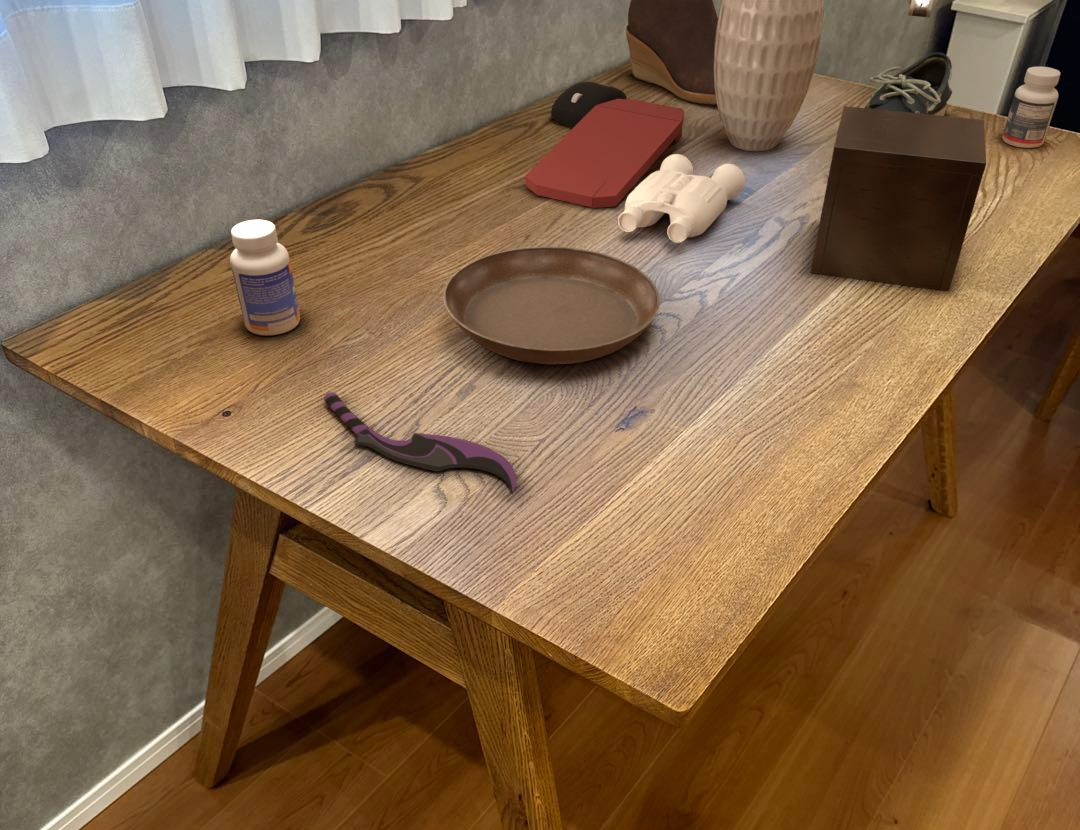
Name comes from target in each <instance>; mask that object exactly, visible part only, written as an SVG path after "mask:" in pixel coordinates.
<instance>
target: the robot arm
mask: <svg viewBox="0 0 1080 830" xmlns="http://www.w3.org/2000/svg"><path fill="white" fill-rule="evenodd" d="M906 1H907V3H908V5H909V9H908V13H907V16H909V17H919V18H930V16H931V14H932V10H933V7H934V6H935V4H937V3H938V1H939V0H906Z"/></svg>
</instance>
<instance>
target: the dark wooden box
mask: <svg viewBox="0 0 1080 830" xmlns="http://www.w3.org/2000/svg"><path fill="white" fill-rule="evenodd" d="M837 129H838V130H837V134H836V138H835V141H834V145H833V151H832V155H831V161H830V166H829V171H828V176H827V183H826V187H825V192H824V198H823V202H822V207H821V208H822V209H821V214H820V219H819V224H818V230H817V234H816V240H815V245H814V251H813V256H812V261H811V265H810V271H809V272H810V273H811V274H818V275H825V276H833V277H839V278H840V277H841V278H847V279H854V280H855V279H856V280H863V281H870V282H876V283H877V282H878V283H884V284H892V285H900V286H907V287H915V288H922V289H929V290H938V291H945V292H949V291H950V289H951V286H952V284H953V283H952V282H953V279H954V276H955V273H956V270H957V266H958V262H959V259H960V255H961V252H962V249H963V245H964V242H965V238H966V235H967V232H968V228H969V224H970V221H971V218H972V215H973V211H974V207H975V204H976V200H977V197H978V194H979V190H980V187H981V184H982V180H983V177H984V173H985V170H986V167H987V151H986V150H987V149H986V148H987V147H986V132H985V131H986V130H985V119H978V118H971V117H961V116H960V117H959V116H950V115H949V116H948V115H944V116H940V115H929V114H919V113H909V112H899V111H889V110H878V109H868V108H864V107H856V106H847V105H844V106H843V108H842V113H841V116H840V121H839V125H838V128H837Z"/></svg>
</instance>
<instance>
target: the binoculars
mask: <svg viewBox="0 0 1080 830" xmlns="http://www.w3.org/2000/svg"><path fill="white" fill-rule="evenodd" d="M745 184H746V179H745V175H744V172H743V171H742V170H741V168H740V167H738V165H736V164H733V163H724V164H721V165H719V166H718V167H716V169H715V170H714V171H713V173H712V176H710V177H709V176H705V175H696V174H694V168H693V164H692V162H691V160H689V158H688V157H686V156H685V155H683V154H679V153H673V154H670V155H668V156H667V157H666V158H664V159H663V161H662V162H661V164H660V168H659V170H656V171H654V172H652V173H650V174H649V175H648V176H647V177H645V179H643V180H642V181H641V182H640V183H639V184H638V185H637V186H636V187H634V189H633V190H632V191H631V192H630V193H629V194H628V195H627V197H626V200H625V202H624V210H623V211H622V212H621V213H620V214H619V215H618V217H617V225H618V227H619V228H620V229H621V230H622V231H623V232H625V233H632V232H634V231H635V230H636V229H637V228H647V227H651V226H653V225H655V224H656V223H657V222H658V221H659V220H660V219H661V218H662V217H663V216H664V215H665V214H668V216H669V223H670V224H669V225H668V227H667V230H666V234H667V237H668V238H669V240H670V241H672V242H673V243H676V244H680V243H683V242H685V240H686V239H687V238H694V237H698V236H701V235H702V234H704V233H705V232H706V231H707V230H708V228H709V227H710V226H711V225H712V224H713V223H714V221H716V220H717V218H719V216H720V215H721V214H722V213H723V212H724V210H725V208H726V207H727V205H728V200H731V199H735V198H737V197H738V196H739V195H741V193H742V192H743V191H744V188H745Z"/></svg>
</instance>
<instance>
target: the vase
mask: <svg viewBox="0 0 1080 830" xmlns="http://www.w3.org/2000/svg"><path fill="white" fill-rule="evenodd" d="M824 14H825V0H720V3H719V9H718V14H717V17H718V22H717V29H716V38H715V48H714V88H715V94H716V101H717V104H716V106H717V110H718V114H719V119H720V121H721V125H722V127H723V129H724V132H725V134H726V136H727V139H728V141H729V143H730V145H732V146H733V147H735V148H736V149H739V150H741V151H742V150H743V151H747V152H765V151H770V150H772V149H774V148H775V147H777V145H778V144H779V143H780V141H781V140H782V139H783V137H784V136H785V135H786V133H787V132H788V131H789V129H790V128H791V127H792V126H793V123H794V121H795V120H796V117H797V116H798V114H799V112H800V111H801V108H802V106H803V103H804V101H805V99H806V96H807V94H808V92H809V88H810V85H811V83H812V79H813V76H814V74H815V73H814V72H815V68H816V64H817V60H818V55H819V50H820V44H821V40H822V39H821V38H822V33H823V24H824Z"/></svg>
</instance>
